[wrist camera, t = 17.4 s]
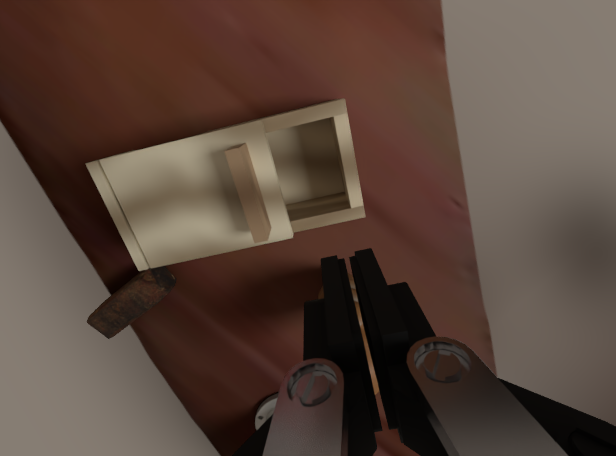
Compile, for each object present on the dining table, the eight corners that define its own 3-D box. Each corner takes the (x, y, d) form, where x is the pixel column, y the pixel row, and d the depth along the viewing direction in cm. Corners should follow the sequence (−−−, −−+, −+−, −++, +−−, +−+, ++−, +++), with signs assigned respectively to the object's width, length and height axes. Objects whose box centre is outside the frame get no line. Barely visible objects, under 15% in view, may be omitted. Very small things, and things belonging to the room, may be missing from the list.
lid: (295, 214, 36) (291, 251, 27) (166, 242, 38) (122, 287, 29) (269, 116, 32) (254, 122, 23) (126, 151, 34) (60, 170, 25)
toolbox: (355, 196, 37) (365, 216, 31) (242, 221, 38) (228, 246, 32) (337, 99, 33) (344, 98, 27) (211, 130, 34) (189, 137, 28)
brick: (128, 318, 44) (108, 341, 40) (105, 299, 43) (82, 321, 38) (181, 277, 42) (167, 298, 37) (159, 256, 40) (141, 274, 36)
